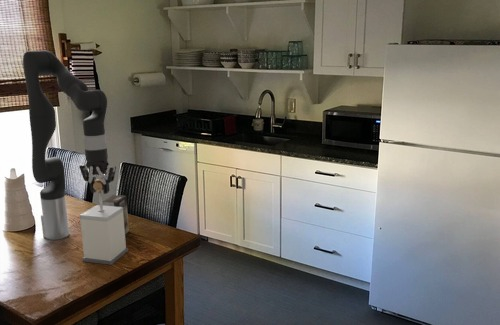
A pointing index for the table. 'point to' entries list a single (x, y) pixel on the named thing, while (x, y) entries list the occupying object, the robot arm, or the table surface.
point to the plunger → (99, 187)
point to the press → (103, 234)
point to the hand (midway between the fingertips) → (100, 192)
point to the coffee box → (119, 202)
